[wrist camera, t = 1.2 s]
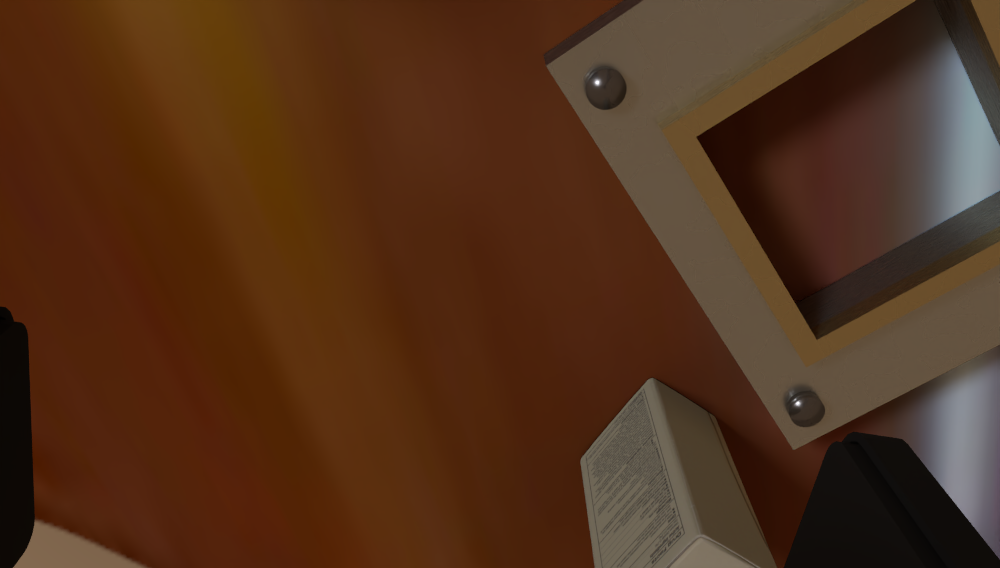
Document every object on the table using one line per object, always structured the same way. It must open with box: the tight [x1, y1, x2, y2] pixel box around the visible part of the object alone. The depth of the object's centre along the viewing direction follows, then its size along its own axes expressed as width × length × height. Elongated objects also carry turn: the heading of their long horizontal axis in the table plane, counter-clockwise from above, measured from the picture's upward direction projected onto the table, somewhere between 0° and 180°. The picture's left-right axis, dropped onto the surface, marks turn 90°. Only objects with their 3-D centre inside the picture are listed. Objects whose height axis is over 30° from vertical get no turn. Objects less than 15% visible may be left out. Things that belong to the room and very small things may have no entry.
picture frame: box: [544, 0, 1000, 450], centre depth 37 cm, size 18×22×4 cm
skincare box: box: [581, 378, 777, 568], centre depth 39 cm, size 6×4×12 cm
